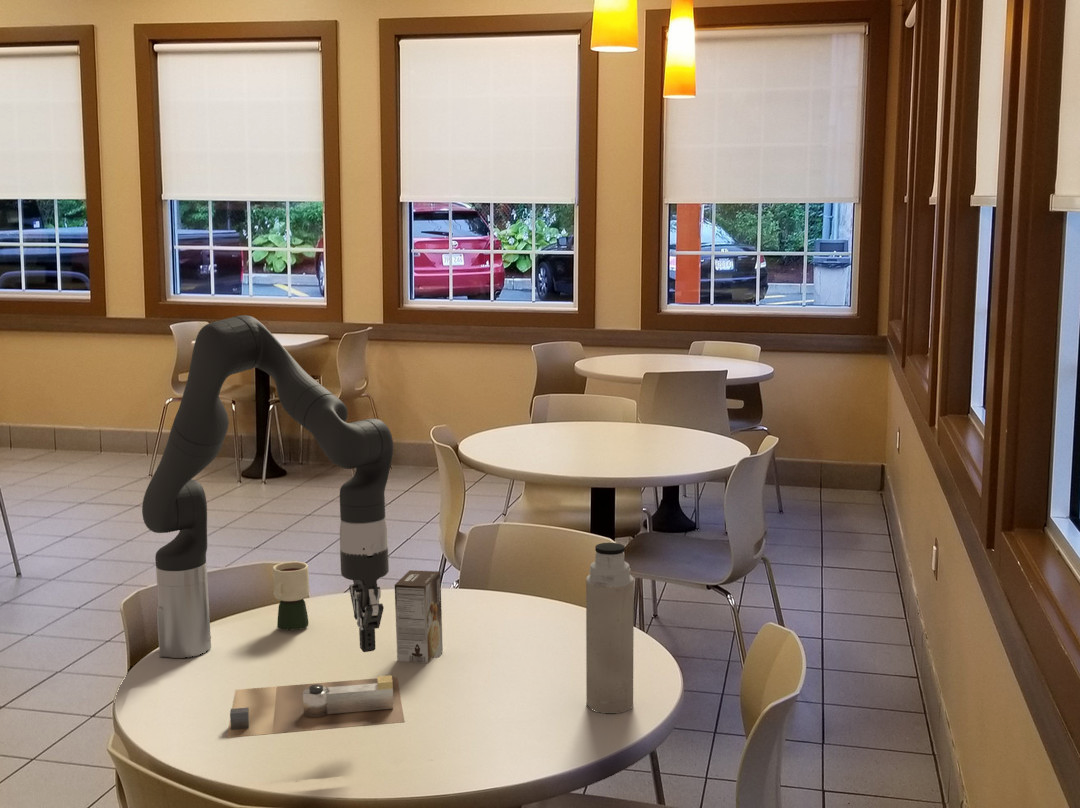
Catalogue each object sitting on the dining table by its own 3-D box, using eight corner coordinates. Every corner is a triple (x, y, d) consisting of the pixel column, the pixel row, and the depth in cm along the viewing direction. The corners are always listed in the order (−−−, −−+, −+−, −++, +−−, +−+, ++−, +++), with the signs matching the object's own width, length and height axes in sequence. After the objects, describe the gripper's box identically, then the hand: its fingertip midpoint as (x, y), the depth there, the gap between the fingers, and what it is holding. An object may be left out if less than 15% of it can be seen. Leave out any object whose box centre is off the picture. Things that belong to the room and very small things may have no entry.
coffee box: (411, 649, 222) (409, 568, 219) (443, 651, 220) (441, 570, 218) (396, 667, 213) (393, 583, 210) (429, 669, 212) (427, 585, 209)
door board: (227, 744, 182) (227, 737, 182) (236, 696, 200) (235, 689, 200) (404, 728, 187) (404, 721, 187) (397, 683, 206) (397, 676, 205)
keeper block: (230, 729, 185) (230, 713, 184) (231, 725, 186) (230, 708, 186) (248, 728, 185) (248, 711, 185) (249, 723, 187) (248, 707, 186)
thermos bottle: (593, 692, 201) (593, 537, 196) (638, 697, 198) (639, 540, 194) (580, 710, 193) (579, 549, 189) (626, 716, 191) (627, 554, 186)
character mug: (291, 617, 240) (288, 557, 238) (321, 621, 238) (319, 560, 236) (263, 635, 230) (260, 572, 228) (294, 639, 227) (291, 576, 225)
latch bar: (303, 718, 188) (302, 691, 187) (303, 707, 192) (302, 680, 192) (393, 710, 191) (392, 683, 190) (392, 699, 195) (391, 673, 194)
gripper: (331, 538, 186) (335, 640, 189) (350, 559, 174) (354, 668, 177) (376, 532, 189) (380, 633, 192) (398, 553, 177) (401, 660, 180)
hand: (367, 650), depth 184 cm, fingers closed
